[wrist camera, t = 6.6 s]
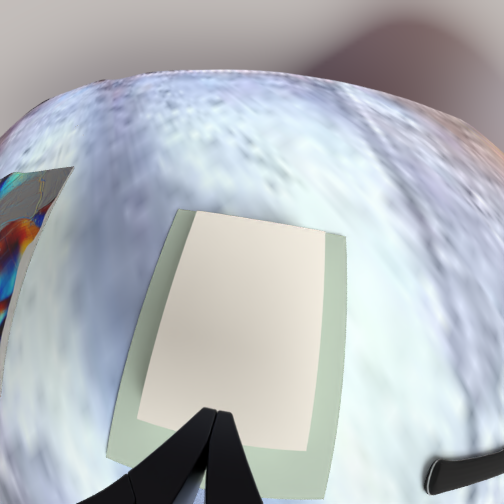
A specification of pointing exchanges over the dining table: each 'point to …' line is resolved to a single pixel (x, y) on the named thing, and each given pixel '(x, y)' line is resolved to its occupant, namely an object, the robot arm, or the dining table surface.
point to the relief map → (22, 234)
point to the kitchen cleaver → (462, 472)
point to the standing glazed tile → (241, 331)
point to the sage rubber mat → (260, 459)
